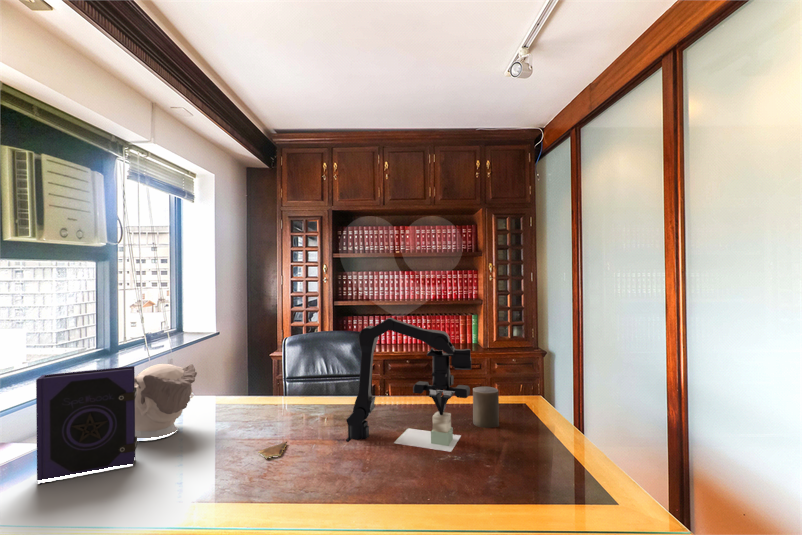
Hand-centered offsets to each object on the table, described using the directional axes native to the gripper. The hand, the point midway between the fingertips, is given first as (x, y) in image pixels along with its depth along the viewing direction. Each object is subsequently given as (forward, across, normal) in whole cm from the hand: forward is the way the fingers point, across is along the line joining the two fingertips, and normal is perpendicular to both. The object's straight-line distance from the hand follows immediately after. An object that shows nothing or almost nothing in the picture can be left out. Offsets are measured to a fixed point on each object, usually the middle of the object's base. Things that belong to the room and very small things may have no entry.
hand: (441, 414), depth 143 cm
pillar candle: (+10, -11, -22) cm, 27 cm away
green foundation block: (+9, 0, 0) cm, 9 cm away
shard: (+11, +51, +25) cm, 58 cm away
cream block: (+5, 0, 0) cm, 5 cm away
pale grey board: (+10, +5, 0) cm, 11 cm away
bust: (+10, +99, +27) cm, 103 cm away
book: (+10, +94, +55) cm, 109 cm away
